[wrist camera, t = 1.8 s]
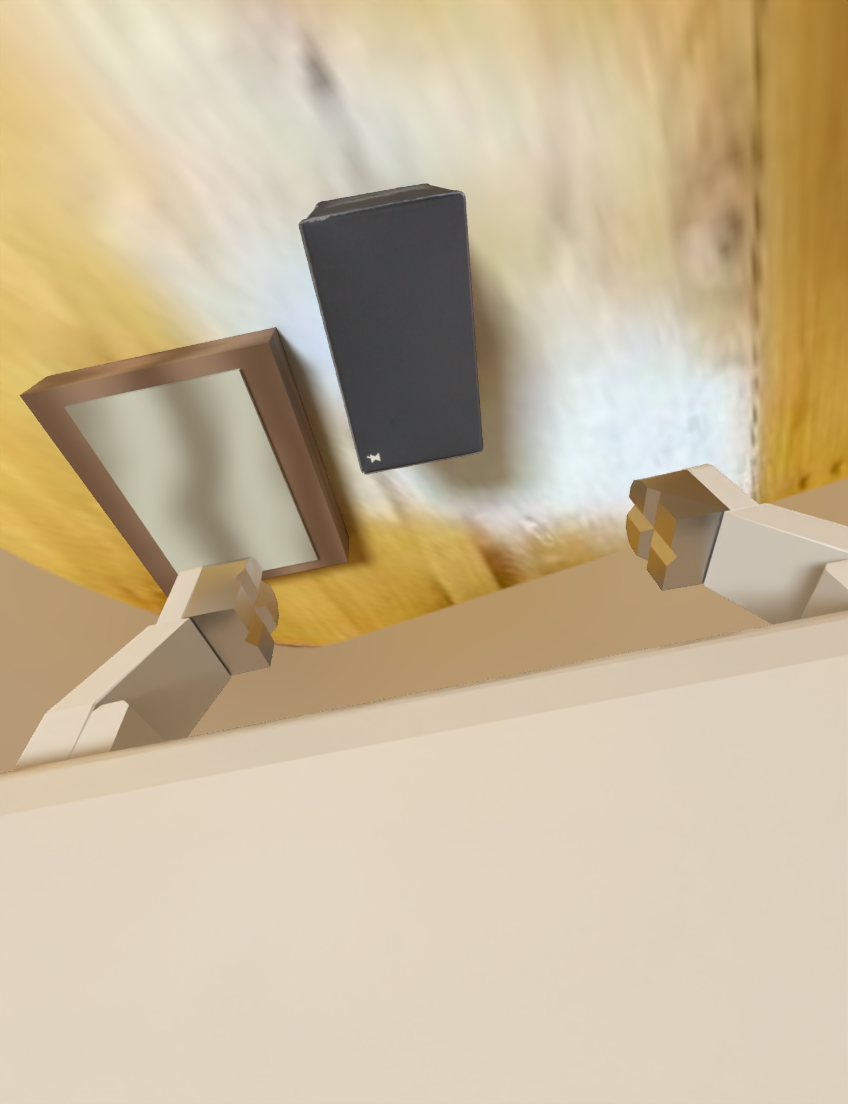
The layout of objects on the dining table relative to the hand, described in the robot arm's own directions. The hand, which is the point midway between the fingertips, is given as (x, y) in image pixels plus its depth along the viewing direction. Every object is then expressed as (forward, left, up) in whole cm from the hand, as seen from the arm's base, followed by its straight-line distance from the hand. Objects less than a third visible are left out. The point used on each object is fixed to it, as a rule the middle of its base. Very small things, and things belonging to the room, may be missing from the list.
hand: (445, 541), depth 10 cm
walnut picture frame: (+14, +8, -23) cm, 28 cm away
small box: (0, 0, -23) cm, 23 cm away
